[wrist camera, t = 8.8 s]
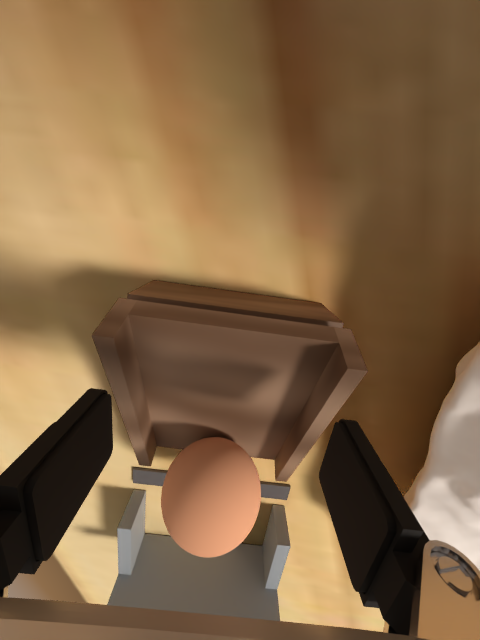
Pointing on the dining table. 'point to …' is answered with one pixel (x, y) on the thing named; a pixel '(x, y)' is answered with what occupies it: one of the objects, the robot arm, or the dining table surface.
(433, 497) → the white flat lumpy piece
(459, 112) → the dining table surface
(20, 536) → the robot arm
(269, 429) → the ramp
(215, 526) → the ball
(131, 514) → the box
